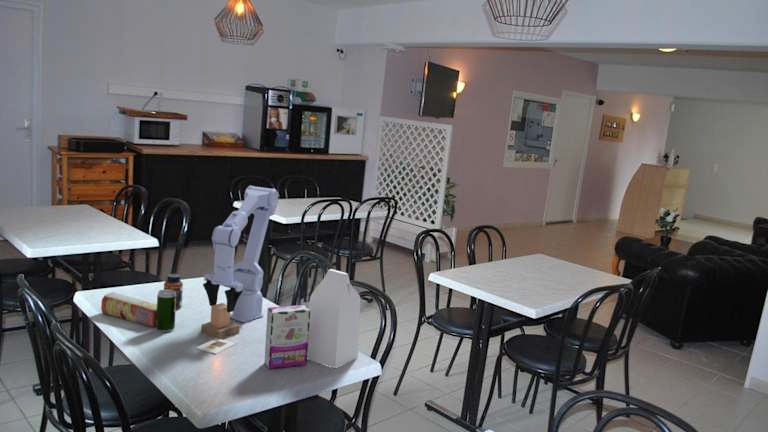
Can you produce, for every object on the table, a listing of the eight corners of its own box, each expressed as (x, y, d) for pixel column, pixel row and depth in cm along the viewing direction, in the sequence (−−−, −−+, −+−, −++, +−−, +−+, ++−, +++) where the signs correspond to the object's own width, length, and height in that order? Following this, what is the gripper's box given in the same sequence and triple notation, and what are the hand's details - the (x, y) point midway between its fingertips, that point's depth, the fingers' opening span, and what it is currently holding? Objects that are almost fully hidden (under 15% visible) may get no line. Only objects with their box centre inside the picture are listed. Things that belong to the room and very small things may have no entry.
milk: (301, 356, 176) (309, 270, 172) (325, 345, 186) (333, 263, 181) (335, 369, 170) (343, 280, 166) (358, 357, 180) (366, 272, 175)
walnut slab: (220, 327, 193) (221, 318, 192) (239, 334, 189) (239, 325, 188) (201, 333, 186) (201, 324, 186) (219, 341, 182) (219, 331, 182)
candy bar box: (300, 358, 175) (305, 304, 172) (307, 365, 170) (311, 310, 168) (262, 362, 170) (267, 306, 167) (268, 370, 165) (272, 312, 162)
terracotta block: (220, 321, 190) (221, 303, 189) (229, 325, 188) (230, 306, 186) (210, 324, 186) (211, 305, 185) (219, 328, 184) (220, 309, 183)
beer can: (158, 333, 182) (159, 295, 180) (154, 327, 186) (155, 289, 184) (176, 331, 185) (178, 293, 183) (172, 325, 189) (173, 288, 187)
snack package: (167, 323, 191) (168, 303, 190) (152, 330, 185) (153, 308, 183) (115, 309, 198) (115, 289, 197) (99, 315, 192) (99, 294, 191)
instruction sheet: (216, 338, 182) (216, 337, 182) (235, 344, 180) (235, 343, 180) (196, 348, 174) (196, 347, 174) (216, 354, 172) (216, 353, 172)
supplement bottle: (185, 308, 205) (187, 275, 203) (170, 312, 200) (172, 279, 198) (173, 303, 208) (175, 271, 206) (159, 307, 203) (160, 274, 201)
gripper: (197, 262, 184) (195, 305, 186) (231, 273, 177) (228, 317, 179) (215, 258, 190) (212, 300, 192) (248, 269, 182) (246, 312, 185)
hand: (221, 308), depth 186 cm, fingers open, 7 cm apart
